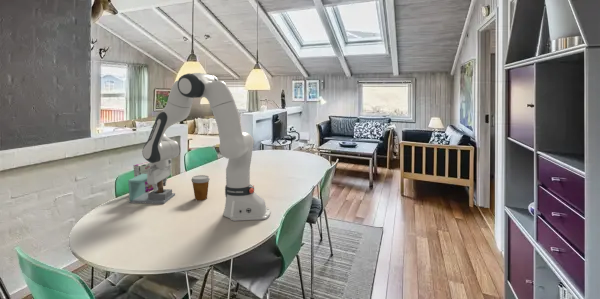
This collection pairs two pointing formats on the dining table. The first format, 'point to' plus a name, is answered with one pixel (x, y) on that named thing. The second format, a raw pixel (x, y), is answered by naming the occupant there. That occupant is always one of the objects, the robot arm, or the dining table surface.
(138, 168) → the candy bar box
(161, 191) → the walnut dowel
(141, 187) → the socket station
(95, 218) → the dining table surface
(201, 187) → the disposable coffee cup
